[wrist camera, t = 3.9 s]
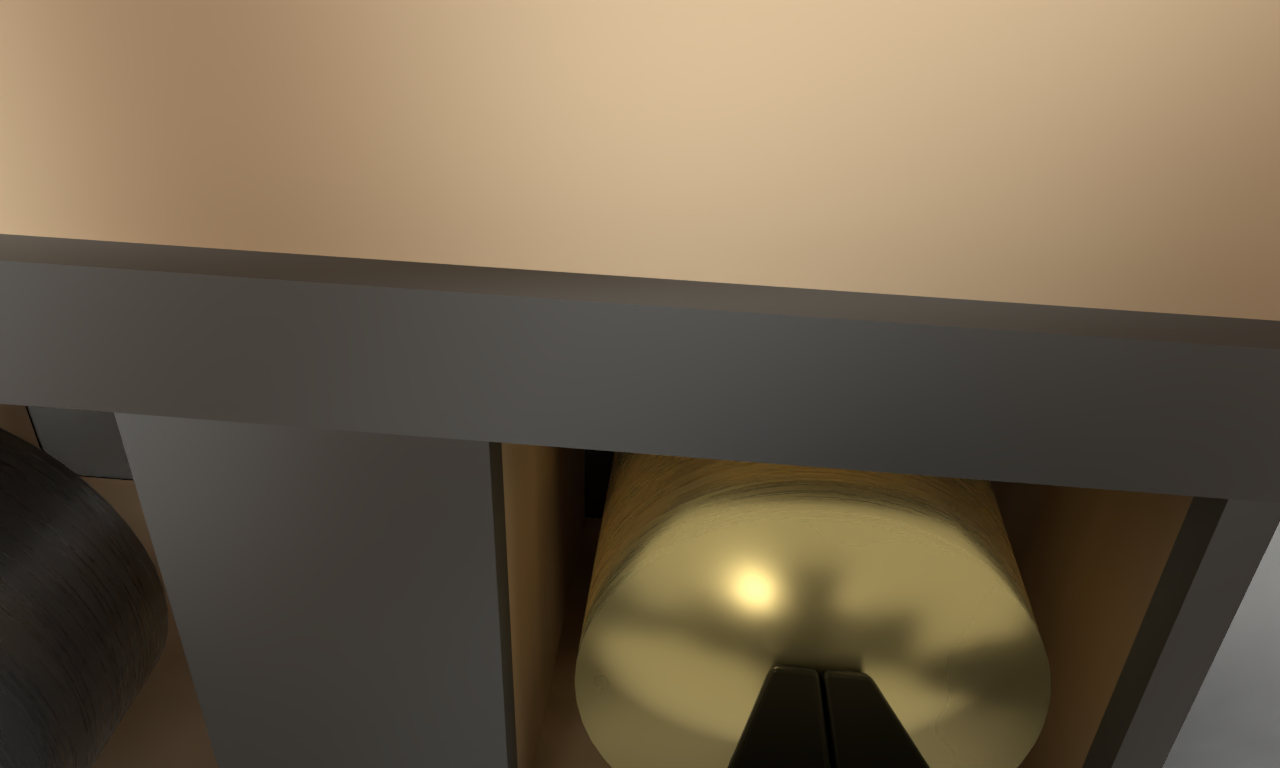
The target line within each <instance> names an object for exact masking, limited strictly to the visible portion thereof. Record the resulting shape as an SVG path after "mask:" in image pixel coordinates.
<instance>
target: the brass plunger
mask: <svg viewBox="0 0 1280 768" xmlns="http://www.w3.org/2000/svg"><path fill="white" fill-rule="evenodd" d="M775 665H786V666H797V667H809V668H813V669H815V670H816V671H817V672H818V674H819V675H820V674H821V672H823V671H825V670H828V669H831V670H842V671H854V672H862V673H866V674H867V675H869V676H870V677H871V678H872V679H873V680H874V681H875V683H876V684H877V686H878V687H879V689H880V691H881V692H882V694H883V695H884V697H885V698H886V700H887V702H888V703H889V705H890V706H891V708H892V709H893V711H894V712H895V714H896V716H897V717H898V719H899V720H900V722H901V723H902V725H903V727H904V728H905V730H906V731H907V733H908V734H909V736H910V737H911V739H912V741H913V742H914V744H915V745H916V747H917V748H918V750H919V752H920V753H921V755H922V756H923V758H924V759H925V761H926V762H927V764H928V766H929V767H930V768H1017V767H1018V766H1019V765H1020V764H1021V763H1022V762H1023V760H1024V759H1025V757H1026V756H1027V754H1028V753H1029V752H1030V750H1031V749H1032V747H1033V746H1034V744H1035V742H1036V740H1037V738H1038V736H1039V734H1040V732H1041V730H1042V728H1043V726H1044V723H1045V719H1046V716H1047V712H1048V708H1049V704H1050V693H1051V676H1050V668H1049V661H1048V657H1047V654H1046V651H1045V648H1044V645H1043V642H1042V638H1041V635H1040V632H1039V629H1038V626H1037V623H1036V620H1035V617H1034V614H1033V611H1032V608H1031V605H1030V602H1029V599H1028V596H1027V593H1026V590H1025V587H1024V584H1023V581H1022V578H1021V574H1020V571H1019V568H1018V565H1017V562H1016V559H1015V556H1014V553H1013V550H1012V547H1011V544H1010V541H1009V538H1008V535H1007V532H1006V529H1005V526H1004V523H1003V520H1002V517H1001V514H1000V511H999V507H998V504H997V501H996V498H995V495H994V492H993V489H992V486H991V483H990V481H989V480H976V479H963V478H950V477H938V476H925V475H912V474H899V473H886V472H873V471H860V470H847V469H834V468H822V467H809V466H796V465H783V464H770V463H757V462H744V461H731V460H719V459H706V458H693V457H680V456H667V455H654V454H641V453H628V452H614V457H613V463H612V468H611V474H610V479H609V485H608V490H607V496H606V501H605V507H604V512H603V518H602V523H601V529H600V534H599V540H598V545H597V551H596V556H595V562H594V567H593V573H592V578H591V584H590V589H589V595H588V600H587V606H586V611H585V617H584V622H583V628H582V633H581V639H580V644H579V650H578V655H577V661H576V672H575V691H576V701H577V705H578V709H579V712H580V716H581V719H582V722H583V725H584V727H585V729H586V731H587V733H588V735H589V737H590V739H591V741H592V743H593V744H594V745H595V747H596V748H597V750H598V751H599V753H600V754H601V756H602V757H603V759H604V760H605V761H606V762H607V763H608V764H609V765H610V766H611V767H612V768H727V767H728V765H729V763H730V760H731V758H732V756H733V753H734V751H735V749H736V746H737V744H738V742H739V739H740V737H741V734H742V732H743V730H744V727H745V725H746V723H747V720H748V718H749V716H750V713H751V711H752V709H753V706H754V704H755V701H756V699H757V697H758V694H759V692H760V690H761V687H762V685H763V683H764V680H765V678H766V676H767V673H768V671H769V670H770V668H771V667H772V666H775Z"/></svg>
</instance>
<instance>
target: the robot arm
mask: <svg viewBox="0 0 1280 768" xmlns="http://www.w3.org/2000/svg"><path fill="white" fill-rule="evenodd" d="M727 768H930V767H929V766H928V764H927V762H926V761H925V759H924V758H923V756H922V755H921V753H920V752H919V750H918V748H917V747H916V745H915V744H914V742H913V741H912V739H911V737H910V736H909V734H908V733H907V731H906V730H905V728H904V727H903V725H902V723H901V722H900V720H899V719H898V717H897V716H896V714H895V712H894V711H893V709H892V708H891V706H890V705H889V703H888V702H887V700H886V698H885V697H884V695H883V694H882V692H881V691H880V689H879V687H878V686H877V684H876V683H875V681H874V680H873V679H872V678H871V677H870V676H869V675H867V674H866V673H862V672H854V671H842V670H831V669H828V670H825V671H823V672H821V674H820V675H819V674H818V672H817V671H816V670H815V669H813V668H809V667H797V666H786V665H775V666H772V667H771V668H770V670H769V671H768V673H767V676H766V678H765V680H764V683H763V685H762V687H761V690H760V692H759V694H758V697H757V699H756V701H755V704H754V706H753V709H752V711H751V713H750V716H749V718H748V720H747V723H746V725H745V727H744V730H743V732H742V734H741V737H740V739H739V742H738V744H737V746H736V749H735V751H734V753H733V756H732V758H731V760H730V763H729V765H728V767H727Z"/></svg>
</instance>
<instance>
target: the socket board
mask: <svg viewBox="0 0 1280 768" xmlns="http://www.w3.org/2000/svg"><path fill="white" fill-rule="evenodd" d="M25 406H36V407H49V408H61V409H74V410H87V411H100V412H113V413H114V415H115V419H116V422H117V425H118V429H119V432H120V436H121V439H122V442H123V446H124V449H125V452H126V456H127V459H128V463H129V466H130V469H131V473H132V476H133V480H134V481H132V480H120V479H107V478H95V477H83V476H79V477H80V478H82V479H83V480H84V481H86V482H87V483H88V484H89V485H90V486H91V487H92V488H93V489H95V490H96V491H97V492H98V493H99V494H100V495H101V496H102V497H103V498H104V499H105V500H106V501H107V502H108V503H110V505H111V506H112V507H113V508H114V509H115V510H116V511H117V512H118V514H119V515H120V516H121V517H122V518H123V519H124V520H125V522H126V523H127V524H128V525H129V526H130V528H131V529H132V531H133V532H134V533H135V535H136V536H137V538H138V539H139V540H140V542H141V543H142V545H143V546H144V548H145V550H146V551H147V553H148V555H149V557H150V559H151V561H152V562H153V564H154V566H155V568H156V571H157V573H158V576H159V578H160V581H161V584H162V586H163V589H164V594H165V599H166V603H167V608H168V632H167V638H166V644H165V647H164V649H163V652H162V654H161V657H160V660H159V661H158V663H157V665H156V666H155V668H154V669H153V671H152V672H151V674H150V676H149V677H148V679H147V680H146V682H145V684H144V685H143V687H142V688H141V690H140V691H139V693H138V695H137V696H136V698H135V699H134V701H133V702H132V704H131V706H130V707H129V709H128V710H127V712H126V714H125V715H124V717H123V718H122V720H121V721H120V723H119V725H118V726H117V728H116V729H115V731H114V733H113V734H112V736H111V737H110V739H109V740H108V742H107V744H106V745H105V747H104V748H103V750H102V751H101V753H100V755H99V756H98V758H97V759H96V761H95V763H94V764H93V766H92V767H91V768H612V767H611V766H610V765H609V764H608V763H607V762H606V761H605V760H604V759H603V757H602V756H601V754H600V753H599V751H598V750H597V748H596V747H595V745H594V744H593V743H592V741H591V739H590V737H589V735H588V733H587V731H586V729H585V727H584V725H583V722H582V719H581V716H580V712H579V709H578V705H577V701H576V691H575V672H576V661H577V655H578V650H579V644H580V639H581V633H582V628H583V622H584V617H585V611H586V606H587V600H588V595H589V589H590V584H591V578H592V573H593V567H594V562H595V556H596V551H597V545H598V540H599V534H600V529H601V523H602V519H599V518H587V517H585V449H590V450H603V451H615V452H628V453H641V454H654V455H667V456H680V457H693V458H706V459H719V460H731V461H744V462H757V463H770V464H783V465H796V466H809V467H822V468H834V469H847V470H860V471H873V472H886V473H899V474H912V475H925V476H938V477H950V478H963V479H976V480H989V481H990V483H991V486H992V489H993V492H994V495H995V498H996V501H997V504H998V507H999V511H1000V514H1001V517H1002V520H1003V523H1004V526H1005V529H1006V532H1007V535H1008V538H1009V541H1010V544H1011V547H1012V550H1013V553H1014V556H1015V559H1016V562H1017V565H1018V568H1019V571H1020V574H1021V578H1022V581H1023V584H1024V587H1025V590H1026V593H1027V596H1028V599H1029V602H1030V605H1031V608H1032V611H1033V614H1034V617H1035V620H1036V623H1037V626H1038V629H1039V632H1040V635H1041V638H1042V642H1043V645H1044V648H1045V651H1046V654H1047V657H1048V661H1049V668H1050V676H1051V693H1050V704H1049V708H1048V712H1047V716H1046V719H1045V723H1044V726H1043V728H1042V730H1041V732H1040V734H1039V736H1038V738H1037V740H1036V742H1035V744H1034V746H1033V747H1032V749H1031V750H1030V752H1029V753H1028V754H1027V756H1026V757H1025V759H1024V760H1023V762H1022V763H1021V764H1020V765H1019V766H1018V767H1017V768H1162V767H1163V765H1164V763H1165V760H1166V758H1167V756H1168V754H1169V752H1170V750H1171V748H1172V746H1173V744H1174V742H1175V739H1176V737H1177V735H1178V733H1179V731H1180V729H1181V727H1182V725H1183V723H1184V721H1185V719H1186V716H1187V714H1188V712H1189V710H1190V708H1191V706H1192V704H1193V702H1194V700H1195V698H1196V696H1197V693H1198V691H1199V689H1200V687H1201V685H1202V683H1203V681H1204V679H1205V677H1206V675H1207V672H1208V670H1209V668H1210V666H1211V664H1212V662H1213V660H1214V658H1215V656H1216V654H1217V652H1218V649H1219V647H1220V645H1221V643H1222V641H1223V639H1224V637H1225V635H1226V633H1227V631H1228V628H1229V626H1230V624H1231V622H1232V620H1233V618H1234V616H1235V614H1236V612H1237V610H1238V608H1239V605H1240V603H1241V601H1242V599H1243V597H1244V595H1245V593H1246V591H1247V589H1248V587H1249V585H1250V582H1251V580H1252V578H1253V576H1254V574H1255V572H1256V570H1257V568H1258V566H1259V564H1260V561H1261V559H1262V557H1263V555H1264V553H1265V551H1266V549H1267V547H1268V545H1269V543H1270V541H1271V538H1272V536H1273V534H1274V532H1275V530H1276V528H1277V526H1278V524H1279V522H1280V0H0V428H2V429H4V430H7V431H8V432H10V433H12V434H14V435H16V436H18V437H20V438H21V439H23V440H25V441H27V442H29V443H31V444H33V445H34V446H36V447H38V448H39V449H40V447H39V444H38V441H37V438H36V436H35V433H34V430H33V427H32V424H31V421H30V418H29V415H28V413H27V410H26V407H25Z"/></svg>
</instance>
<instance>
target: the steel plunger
mask: <svg viewBox="0 0 1280 768" xmlns="http://www.w3.org/2000/svg"><path fill="white" fill-rule="evenodd" d="M167 632H168V608H167V603H166V599H165V594H164V589H163V586H162V584H161V581H160V578H159V576H158V573H157V571H156V568H155V566H154V564H153V562H152V561H151V559H150V557H149V555H148V553H147V551H146V550H145V548H144V546H143V545H142V543H141V542H140V540H139V539H138V538H137V536H136V535H135V533H134V532H133V531H132V529H131V528H130V526H129V525H128V524H127V523H126V522H125V520H124V519H123V518H122V517H121V516H120V515H119V514H118V512H117V511H116V510H115V509H114V508H113V507H112V506H111V505H110V503H108V502H107V501H106V500H105V499H104V498H103V497H102V496H101V495H100V494H99V493H98V492H97V491H96V490H95V489H93V488H92V487H91V486H90V485H89V484H88V483H87V482H86V481H84V480H83V479H82V478H80V477H79V476H78V475H77V474H75V473H74V472H73V471H71V470H70V469H69V468H68V467H66V466H65V465H64V464H62V463H61V462H59V461H58V460H56V459H55V458H53V457H52V456H50V455H49V454H47V453H45V452H44V451H42V450H41V449H39V448H38V447H36V446H34V445H33V444H31V443H29V442H27V441H25V440H23V439H21V438H20V437H18V436H16V435H14V434H12V433H10V432H8V431H7V430H4V429H2V428H0V768H91V767H92V766H93V764H94V763H95V761H96V759H97V758H98V756H99V755H100V753H101V751H102V750H103V748H104V747H105V745H106V744H107V742H108V740H109V739H110V737H111V736H112V734H113V733H114V731H115V729H116V728H117V726H118V725H119V723H120V721H121V720H122V718H123V717H124V715H125V714H126V712H127V710H128V709H129V707H130V706H131V704H132V702H133V701H134V699H135V698H136V696H137V695H138V693H139V691H140V690H141V688H142V687H143V685H144V684H145V682H146V680H147V679H148V677H149V676H150V674H151V672H152V671H153V669H154V668H155V666H156V665H157V663H158V661H159V660H160V657H161V654H162V652H163V649H164V647H165V644H166V638H167Z"/></svg>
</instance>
